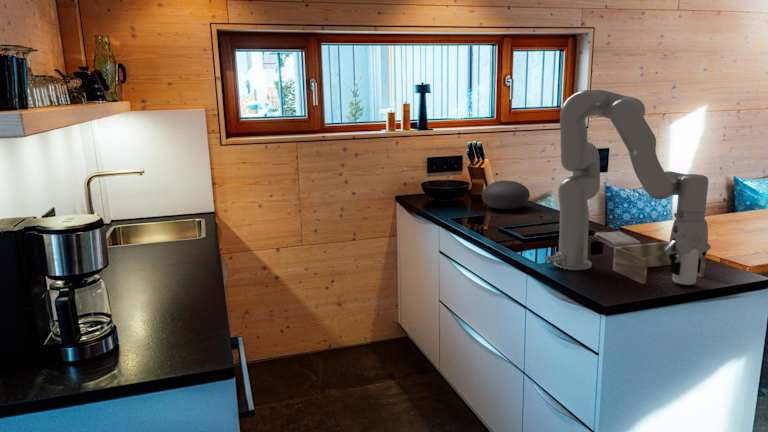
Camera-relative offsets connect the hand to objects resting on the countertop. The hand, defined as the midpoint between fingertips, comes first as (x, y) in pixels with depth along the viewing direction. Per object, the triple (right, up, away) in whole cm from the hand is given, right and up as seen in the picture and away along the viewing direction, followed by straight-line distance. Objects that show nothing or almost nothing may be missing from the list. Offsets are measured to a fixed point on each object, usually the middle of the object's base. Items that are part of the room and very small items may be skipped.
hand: (685, 272), depth 170 cm
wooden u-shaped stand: (-2, -2, +13) cm, 13 cm away
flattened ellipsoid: (-29, +21, +122) cm, 127 cm away
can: (0, -3, +1) cm, 3 cm away
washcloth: (+1, +6, +52) cm, 53 cm away
